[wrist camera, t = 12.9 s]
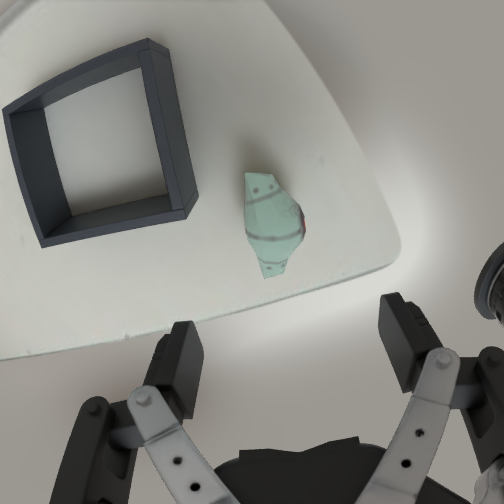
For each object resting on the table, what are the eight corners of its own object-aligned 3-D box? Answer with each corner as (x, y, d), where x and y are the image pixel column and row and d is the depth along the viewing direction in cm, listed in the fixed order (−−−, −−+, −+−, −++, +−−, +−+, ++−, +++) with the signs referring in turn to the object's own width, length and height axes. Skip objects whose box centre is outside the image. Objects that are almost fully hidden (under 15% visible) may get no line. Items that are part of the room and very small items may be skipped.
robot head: (237, 160, 23) (231, 181, 17) (290, 152, 23) (302, 171, 17) (255, 250, 27) (254, 296, 21) (301, 244, 27) (314, 287, 21)
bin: (169, 49, 19) (148, 37, 15) (199, 197, 25) (186, 219, 20) (36, 103, 20) (1, 109, 16) (69, 225, 26) (41, 248, 21)
